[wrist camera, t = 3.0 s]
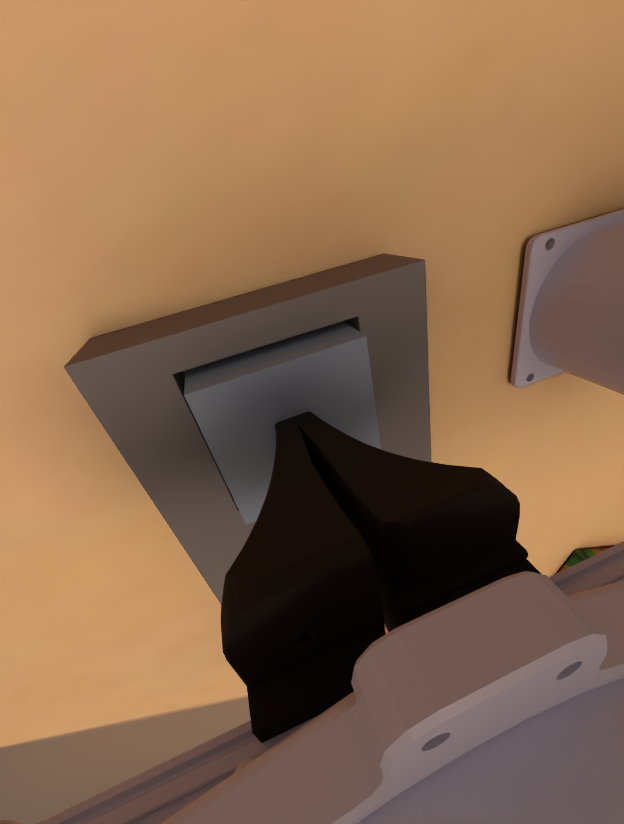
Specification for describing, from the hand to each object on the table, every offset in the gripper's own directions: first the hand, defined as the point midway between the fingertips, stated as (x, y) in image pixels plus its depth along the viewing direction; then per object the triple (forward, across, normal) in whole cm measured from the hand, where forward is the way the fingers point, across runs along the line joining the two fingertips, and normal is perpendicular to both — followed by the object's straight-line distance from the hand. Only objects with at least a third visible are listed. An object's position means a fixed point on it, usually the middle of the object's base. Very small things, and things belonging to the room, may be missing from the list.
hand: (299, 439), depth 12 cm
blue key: (+2, 0, 0) cm, 2 cm away
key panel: (+4, 0, +8) cm, 9 cm away
